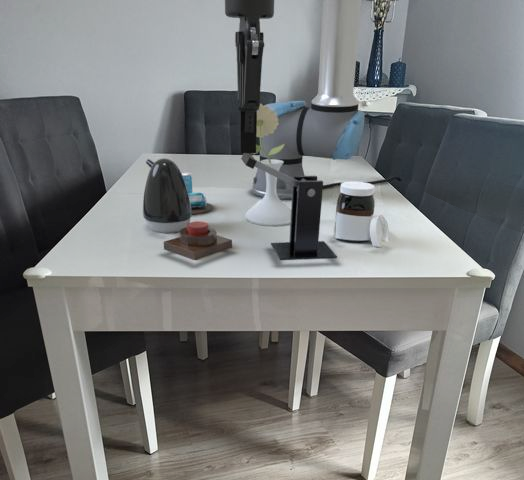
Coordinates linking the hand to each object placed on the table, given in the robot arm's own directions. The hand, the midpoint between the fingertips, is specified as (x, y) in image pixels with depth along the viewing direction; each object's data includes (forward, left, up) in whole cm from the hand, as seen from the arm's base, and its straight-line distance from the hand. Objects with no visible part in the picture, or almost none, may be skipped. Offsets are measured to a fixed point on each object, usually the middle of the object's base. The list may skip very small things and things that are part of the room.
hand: (247, 152), depth 90 cm
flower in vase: (-21, -12, -20) cm, 31 cm away
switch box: (+4, -8, -19) cm, 22 cm away
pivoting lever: (-4, +3, -5) cm, 7 cm away
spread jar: (-24, +11, -20) cm, 33 cm away
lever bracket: (-9, +7, -19) cm, 22 cm away
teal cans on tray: (-17, -34, -20) cm, 43 cm away
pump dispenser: (-1, -23, -20) cm, 30 cm away
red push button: (+4, -8, -15) cm, 18 cm away
